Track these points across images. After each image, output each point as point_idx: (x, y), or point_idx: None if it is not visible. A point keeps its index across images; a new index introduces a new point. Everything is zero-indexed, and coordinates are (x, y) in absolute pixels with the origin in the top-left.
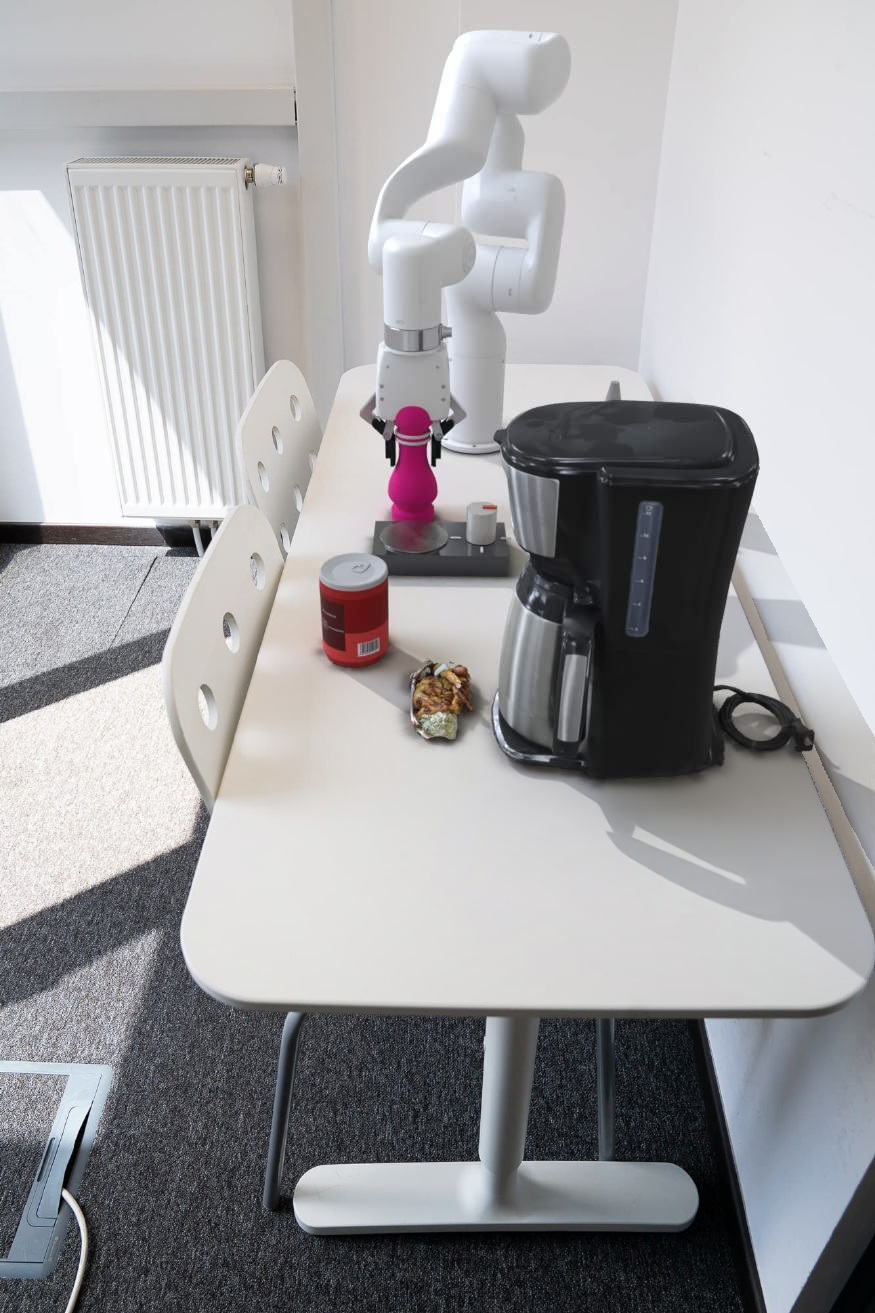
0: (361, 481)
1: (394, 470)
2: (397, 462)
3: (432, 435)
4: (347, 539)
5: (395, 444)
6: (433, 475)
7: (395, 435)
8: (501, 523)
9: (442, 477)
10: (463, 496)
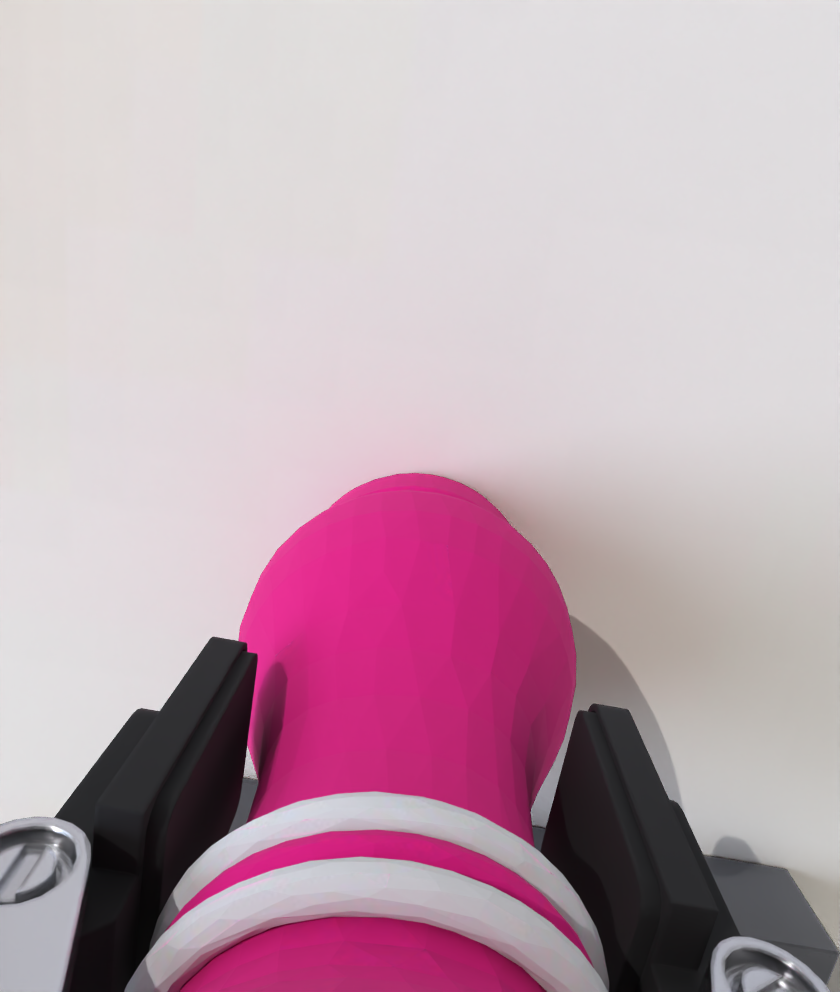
0: (157, 25)
1: (250, 728)
2: (258, 771)
3: (643, 955)
4: (77, 744)
5: (197, 826)
6: (554, 755)
7: (166, 858)
8: (820, 963)
9: (712, 36)
10: (758, 360)
